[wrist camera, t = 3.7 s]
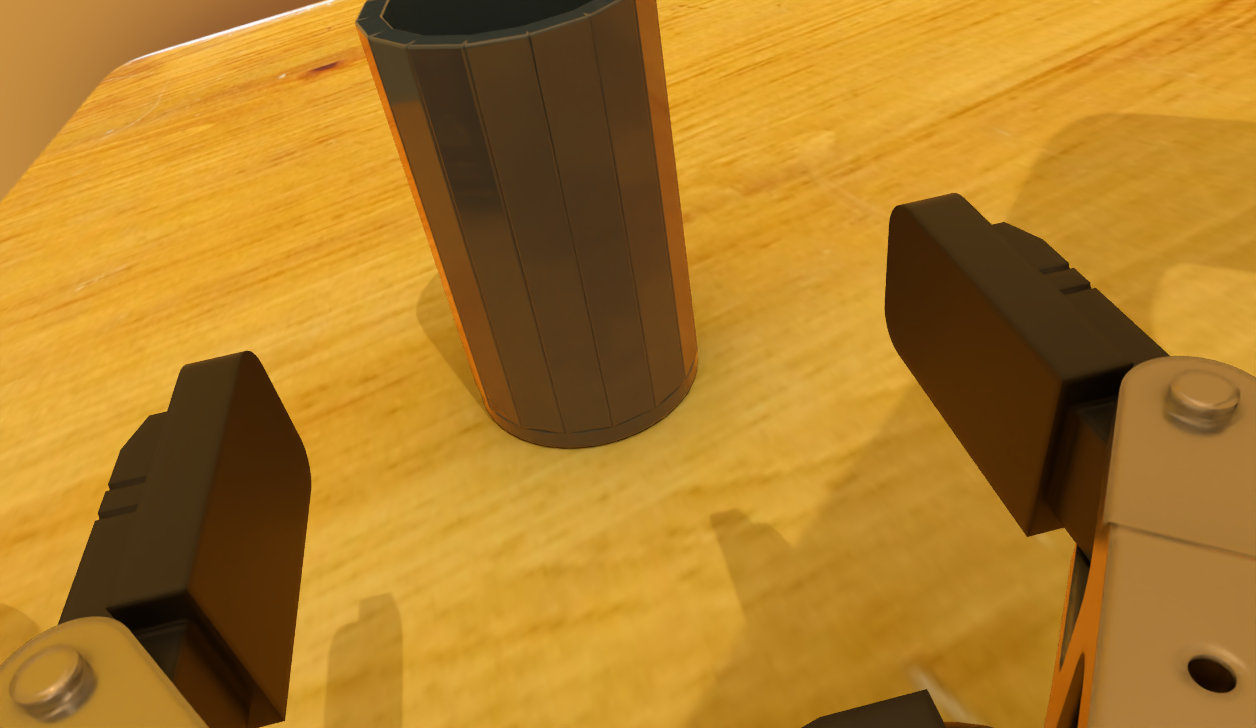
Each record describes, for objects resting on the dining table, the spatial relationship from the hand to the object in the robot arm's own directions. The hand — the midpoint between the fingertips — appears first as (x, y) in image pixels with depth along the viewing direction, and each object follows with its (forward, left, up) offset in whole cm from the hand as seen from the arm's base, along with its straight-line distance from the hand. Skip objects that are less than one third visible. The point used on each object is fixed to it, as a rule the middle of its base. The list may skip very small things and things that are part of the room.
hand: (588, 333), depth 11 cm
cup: (-3, -11, -10) cm, 15 cm away
